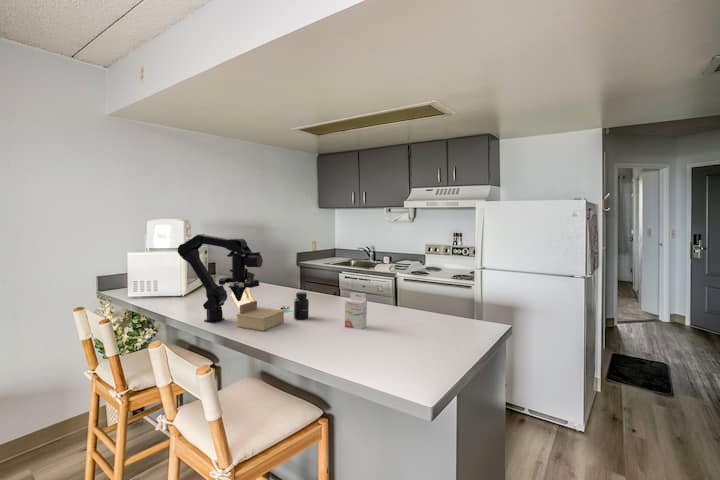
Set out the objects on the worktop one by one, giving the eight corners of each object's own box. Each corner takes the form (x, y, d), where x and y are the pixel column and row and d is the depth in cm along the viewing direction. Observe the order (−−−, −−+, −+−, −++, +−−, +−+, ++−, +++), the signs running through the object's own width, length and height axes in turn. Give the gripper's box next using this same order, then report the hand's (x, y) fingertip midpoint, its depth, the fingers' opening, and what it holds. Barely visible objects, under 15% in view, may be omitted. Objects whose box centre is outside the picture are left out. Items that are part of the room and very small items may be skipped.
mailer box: (237, 327, 161) (237, 316, 160) (258, 319, 174) (258, 308, 173) (263, 331, 155) (263, 319, 155) (283, 322, 168) (283, 311, 168)
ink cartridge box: (344, 327, 162) (344, 293, 161) (349, 324, 167) (349, 291, 166) (362, 329, 158) (362, 295, 158) (367, 326, 163) (367, 293, 162)
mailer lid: (236, 316, 160) (236, 306, 160) (258, 308, 174) (258, 299, 173) (263, 319, 154) (263, 310, 154) (284, 311, 168) (284, 302, 168)
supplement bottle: (305, 320, 172) (305, 294, 171) (291, 319, 173) (291, 294, 172) (310, 316, 179) (310, 291, 178) (297, 315, 180) (297, 291, 179)
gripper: (266, 265, 171) (267, 299, 172) (235, 263, 179) (235, 295, 180) (250, 269, 161) (251, 304, 162) (217, 266, 168) (218, 300, 169)
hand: (239, 301), depth 169 cm, fingers closed
